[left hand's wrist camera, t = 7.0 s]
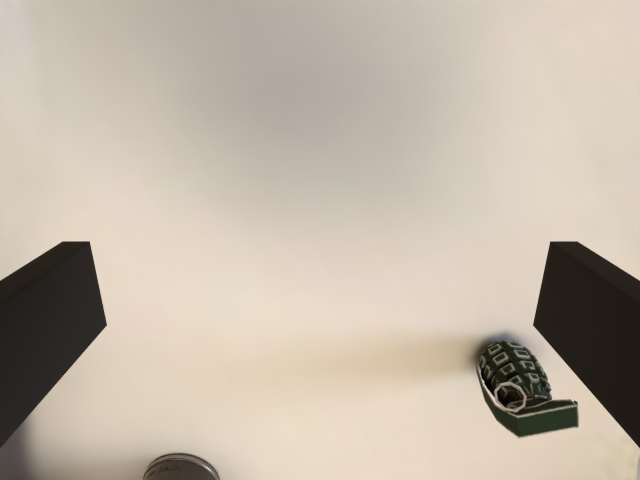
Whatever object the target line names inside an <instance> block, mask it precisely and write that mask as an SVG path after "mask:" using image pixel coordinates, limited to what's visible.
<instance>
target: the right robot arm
mask: <svg viewBox="0 0 640 480" xmlns="http://www.w3.org/2000/svg"><path fill="white" fill-rule="evenodd" d="M143 480H219V477H218V475H217V473H216V472H215V470H214V469H213V468H212V467H211V466H210V465H208V464H207V463H206V462H204V461H202V460H200V459H198V458H195V457H192V456H188V455H179V454H177V455H168V456H164V457H161V458H159V459H157V460H155V461H154V462H153V463H152V464H150V466H149V467H148V468H147V470H146V472H145V475H144V477H143Z"/></svg>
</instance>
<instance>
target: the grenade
mask: <svg viewBox="0 0 640 480" xmlns="http://www.w3.org/2000/svg"><path fill="white" fill-rule="evenodd" d="M479 361H480V364H479V365H480V369H481V376H482V379H483V380H484V382H485V383H484V384H485V385H486V387H487V388H488V390H489V391H490V392H491V394H492V395H493V396H494V397H495V401H496V402H497V403H498V404H499V405H500V406H501V407H502V408H503V409H504V410H503V409H502V408H500V407H499V406H497V405H495V403H494V402H493V400H492V399H491V397H490V395H489V394H488V392H487V391H486V389H485V387H484V386H483V383H482V380H481V377H480V374H479V371H478V368H477V365H476V370H477V375H478V379H479V382H480V385H481V389H482V392H483V396H484V399H485V402H486V403H487V405H488V407H489V408H490V410H491V412H492V413H493V415H494V417H495V418H496V420H497V421H498V422H499V423H500V424H501V425H502V426H504V427H505V428H506V429H507V430H508V431H510V432H511V433H513V434H514V435H516V436H517V438H525V437H530V436H535V435H541V434H546V433H551V432H556V431H562V430H567V429H572V428H577V427H579V416H578V402H576V401H574V402H573V401H572V400H570V399H569V400H552V396H551V393H550V391H551V387H550V384H549V383H548V381H547V380H548V378H547V376H546V373H545V372H544V371H543V368H542V366H541V365H540V363H539V362H538V360H537V359H536V357H535V356H534V355H533V354H532V353H531V351H529V350H528V349H527V348H526V347H522V346H521V345H520V344H518V343H515V342H514V341H512V340H503V341H501V342H498V343H497V342H494V343H492V344H490V345H489V346H487V349H486V350H485V351H483V352H482V353H481V356H480V359H479ZM475 364H476V362H475Z"/></svg>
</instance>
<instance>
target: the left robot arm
mask: <svg viewBox="0 0 640 480" xmlns="http://www.w3.org/2000/svg"><path fill="white" fill-rule="evenodd" d="M106 326H107V323H106V319H105V314H104V309H103V304H102V299H101V294H100V289H99V285H98V280H97V275H96V270H95V265H94V260H93V255H92V251H91V246H90V242H61V243H60V244H58V245H57V246H55V247H53V248H52V249H50V250H49V251H47V252H45V253H44V254H42V255H41V256H39V257H37V258H36V259H34V260H33V261H31V262H29V263H28V264H26V265H25V266H23V267H22V268H20V269H18V270H17V271H15V272H14V273H12V274H10V275H9V276H7V277H6V278H4V279H2V280H1V281H0V448H1V447H2V445H3V444H4V443H5V442H6V441H7V440H8V438H9V437H10V436H11V435H12V434H13V433H14V432H15V430H16V429H17V428H18V427H19V426H20V425H21V423H22V422H23V421H24V420H25V419H26V418H27V417H28V415H29V414H30V413H31V412H32V411H33V410H34V409H35V407H36V406H37V405H38V404H39V403H40V402H41V400H42V399H43V398H44V397H45V396H46V395H47V394H48V392H49V391H50V390H51V389H52V388H53V387H54V385H55V384H56V383H57V382H58V381H59V380H60V379H61V377H62V376H63V375H64V374H65V373H66V372H67V371H68V369H69V368H70V367H71V366H72V365H73V364H74V362H75V361H76V360H77V359H78V358H79V357H80V356H81V354H82V353H83V352H84V351H85V350H86V349H87V348H88V346H89V345H90V344H91V343H92V342H93V341H94V339H95V338H96V337H97V336H98V335H99V334H100V333H101V331H102V330H103V329H104V328H105V327H106ZM533 326H534V327H535V328H536V329H537V330H538V331H539V333H540V334H541V335H542V336H543V337H544V338H545V339H546V341H547V342H548V343H549V344H550V345H551V346H552V348H553V349H554V350H555V351H556V352H557V353H558V354H559V356H560V357H561V358H562V359H563V360H564V361H565V362H566V364H567V365H568V366H569V367H570V368H571V369H572V371H573V372H574V373H575V374H576V375H577V376H578V377H579V379H580V380H581V381H582V382H583V383H584V384H585V385H586V387H587V388H588V389H589V390H590V391H591V392H592V394H593V395H594V396H595V397H596V398H597V399H598V400H599V402H600V403H601V404H602V405H603V406H604V407H605V409H606V410H607V411H608V412H609V413H610V414H611V415H612V417H613V418H614V419H615V420H616V421H617V422H618V423H619V425H620V426H621V427H622V428H623V429H624V430H625V432H626V433H627V434H628V435H629V436H630V437H631V438H632V440H633V441H634V442H635V443H636V444H637V445H638V447H639V448H640V281H639V280H638V279H636V278H634V277H633V276H631V275H630V274H628V273H626V272H625V271H623V270H622V269H620V268H618V267H617V266H615V265H614V264H612V263H611V262H609V261H607V260H606V259H604V258H603V257H601V256H599V255H598V254H596V253H595V252H593V251H591V250H590V249H588V248H587V247H585V246H583V245H582V244H580V243H579V242H550V246H549V251H548V255H547V260H546V265H545V270H544V275H543V280H542V285H541V289H540V294H539V299H538V304H537V309H536V314H535V319H534V323H533Z"/></svg>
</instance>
